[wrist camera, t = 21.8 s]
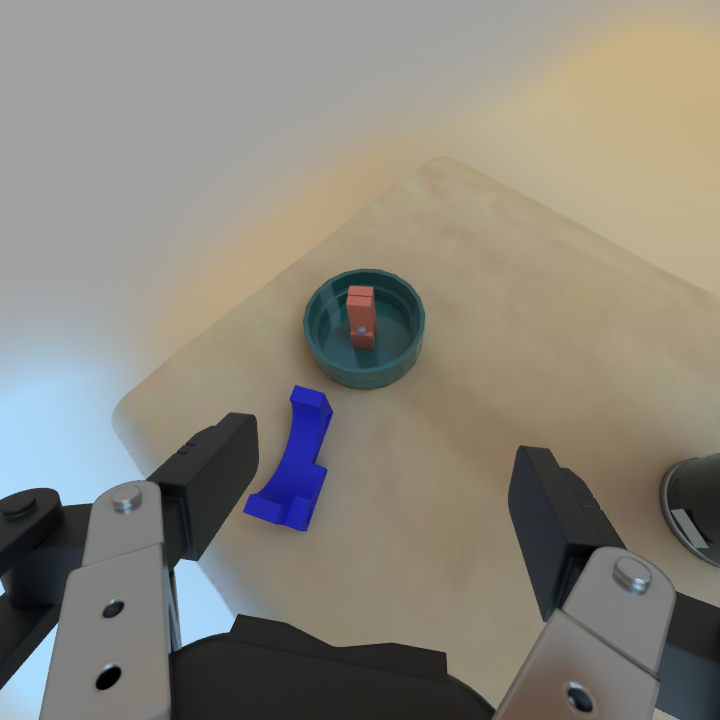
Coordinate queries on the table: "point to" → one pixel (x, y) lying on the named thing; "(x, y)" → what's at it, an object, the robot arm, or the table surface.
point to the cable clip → (296, 466)
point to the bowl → (392, 340)
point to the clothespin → (362, 317)
